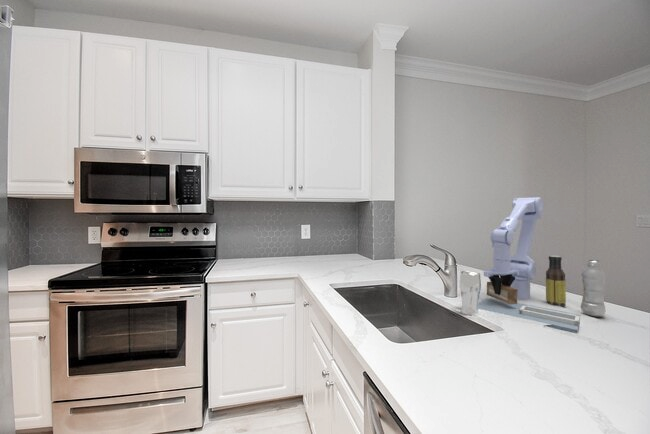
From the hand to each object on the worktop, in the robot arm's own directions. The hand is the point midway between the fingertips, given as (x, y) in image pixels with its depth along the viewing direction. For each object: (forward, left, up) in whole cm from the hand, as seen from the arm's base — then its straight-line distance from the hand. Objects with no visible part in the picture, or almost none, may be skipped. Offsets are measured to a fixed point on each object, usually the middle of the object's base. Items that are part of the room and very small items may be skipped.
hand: (501, 293), depth 115 cm
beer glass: (+17, -7, -5) cm, 19 cm away
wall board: (+3, +8, -5) cm, 10 cm away
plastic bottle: (-11, +26, -5) cm, 29 cm away
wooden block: (0, 0, -2) cm, 2 cm away
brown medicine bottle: (-15, +15, -5) cm, 22 cm away
